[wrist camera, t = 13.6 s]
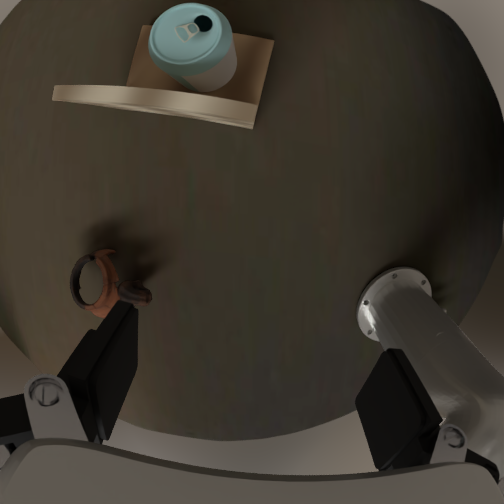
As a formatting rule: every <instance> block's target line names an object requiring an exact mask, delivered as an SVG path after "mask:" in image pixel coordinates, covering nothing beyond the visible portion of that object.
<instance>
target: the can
mask: <svg viewBox="0 0 504 504" xmlns="http://www.w3.org/2000/svg"><path fill="white" fill-rule="evenodd" d="M148 48H149V53H150V56H151V58H152V60H153V62H154V63H155V64H156V65H157V67H159V68H160V69H161V70H163V71H164V72H165V73H167V74H168V75H170V76H171V77H172V78H174V79H175V80H176V81H178V82H179V83H181V84H182V85H183V86H185V87H186V88H188V89H190V90H192V91H196V92H210V91H214V90H217V89H219V88H221V87H222V86H224V85H225V84H227V83H228V82H229V81H230V79H231V78H232V77H233V75H234V73H235V71H236V67H237V57H236V51H235V46H234V40H233V35H232V30H231V26H230V23H229V21H228V20H227V18H226V17H225V16H224V15H223V14H222V13H221V12H220V11H218V10H217V9H215V8H213V7H210V6H207V5H203V4H199V3H184V4H179V5H176V6H174V7H172V8H170V9H168V10H166V11H165V12H164V13H163V14H161V15H160V16H159V17H158V19H157V20H156V21H155V23H154V24H153V26H152V29H151V32H150V36H149V42H148Z"/></svg>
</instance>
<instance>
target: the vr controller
mask: <svg viewBox="0 0 504 504" xmlns="http://www.w3.org/2000/svg"><path fill="white" fill-rule="evenodd" d="M114 253H115V250H112V249H103V250H96V251H95V252H93V253H91V254H88V255H85V256H83V257H82V258H80V259H79V260H78V261H77V262H76V264H75V267H74V268H73V270H72V274H71V277H70V289H71V293H72V296H73V299H74V301H75V302H76V304H77V305H78V306H79V307H81V308H82V309H86V310H91V312H92V313H93V314H94V315H95V316H98V317H102V318H105V317H106V316H107V314H108V313H109V311H110V310H111V309H112V307H113V306H114V304H115V303H116V302H117V301H118V300H121V301H125V302H129V303H133V304H134V307H135V306H136V305H140V306H147V305H149V303H150V302H151V300H152V294H151V292H150V290H148V289H147V288H145V287H143V285H142V283H141V281H140V280H137V281H129V280H126V281H124V282H122V283H121V284H120V285H119V287H118V288H117V287H116V284H115V283H116V282H118V281H119V277H118V275H117V273H116V270H115V267H114V266H113V264H112V262H111V260H110V259H109V257H108V256H107V255H109V254H114ZM94 259H97V260H96V263H97V265H98V266H99V267H100V269H101V271H102V275H103V284H104V286H103V290H102V293H101V295H100V297H99V299H98V300H97V301H96V302H95V303H94V304H86V303H85V302H84V301H83V300H82V298H81V296H80V293H79V289H81V287H80V284H79V278H80V274H81V270H82V268H83V266H84V265H85V264H86V263H87V262H89V261H93V260H94Z"/></svg>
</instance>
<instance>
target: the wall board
mask: <svg viewBox="0 0 504 504" xmlns="http://www.w3.org/2000/svg"><path fill="white" fill-rule="evenodd" d="M152 26H153V25H143V26H142V30H141V33H140V36H139V39H138V43H137V46H136V50H135V53H134V57H133V60H132V64H131V68H130V72H129V76H128V80H127V84H126V87H124V86H101V85H56V86H55V87H54V92H53V97H52V100H57V101H66V102H75V103H83V104H91V105H98V106H105V107H111V108H118V109H124V110H132V111H142V112H151V113H159V114H167V115H174V116H181V117H188V118H194V119H201V120H207V121H212V122H218V123H223V124H228V125H234V126H239V127H243V128H248V129H253V126H254V122H255V117H256V113H257V109H258V105H259V101H260V97H261V92H262V88H263V84H264V80H265V76H266V72H267V68H268V64H269V60H270V56H271V52H272V48H273V44H274V40H269V39H264V38H259V37H254V36H249V35H243V34H237V33H232V35H233V40H234V46H235V51H236V57H237V67H236V71H235V73H234V75H233V77H232V78H231V79H230V81H229V82H228V83H227V84H225V85H224V86H222V87H221V88H219V89H217V90H214V91H210V92H196V91H192V90H190V89H188V88H186V87H185V86H183V85H182V84H181V83H179V82H178V81H176V80H175V79H174V78H172V77H171V76H170V75H168V74H167V73H165V72H164V71H163V70H161V69H160V68H159V67H157V65H156V64H155V63H154V62H153V60H152V58H151V56H150V53H149V48H148V42H149V36H150V32H151V29H152Z"/></svg>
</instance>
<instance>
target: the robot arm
mask: <svg viewBox="0 0 504 504" xmlns="http://www.w3.org/2000/svg"><path fill="white" fill-rule="evenodd" d="M356 315H357V321H358V324H359V326H360V328H361V330H362V332H363V333H364V334H365V335H366V336H367V337H369V338H371V339H373V340H376V341H380V343H381V345H382V346H383V348H384V350H385V351H384V352H383V353H382V354H381V356H380V358H379V359H378V361H377V363H376V365H375V367H374V368H373V370H372V372H371V374H370V375H369V377H368V379H367V380H366V382H365V384H364V385H363V387H362V389H361V390H360V392H359V394H358V395H357V397H356V401H355V404H356V408H357V411H358V414H359V417H360V420H361V423H362V426H363V429H364V432H365V436H366V439H367V442H368V445H369V448H370V452H371V455H372V458H373V461H374V465H375V467H376V468H377V469H379V471H378V472H368V473H357V474H342V475H309V476H308V475H305V476H304V475H272V474H257V473H245V472H235V471H226V470H218V469H211V468H205V467H199V466H193V465H188V464H183V463H178V462H173V461H168V460H162V459H158V458H154V457H150V456H145V455H141V454H138V453H133V452H130V451H126V450H121V449H118V448H114V447H110V446H106V445H102V442H103V440H109V438H110V436H111V433H112V430H113V428H114V425H115V422H116V420H117V417H118V415H119V412H120V410H121V407H122V405H123V402H124V400H125V397H126V395H127V392H128V390H129V388H130V385H131V383H132V380H133V378H134V376H135V373H136V370H137V365H138V309H136V308H134V304H133V303H129V302H125V301H121V300H118V301H117V302H116V303H115V304H114V306H113V307H112V309H111V310H110V311H109V313H108V314H107V316H106V317H105V319H104V320H103V321H102V323H101V324H100V326H99V327H98V329H97V330H93V329H90V330H89V331H88V332H87V333H86V334H85V336H84V337H83V339H82V340H81V341H80V343H79V344H78V346H77V347H76V349H75V350H74V351H73V353H72V354H71V356H70V357H69V359H68V360H67V362H66V363H65V365H64V366H63V368H62V369H61V371H60V372H59V374H58V375H57V376H55V375H50V374H40V375H37V376H34V377H33V378H31V379H30V380H29V381H28V382H27V383H26V385H25V388H24V394H19V395H15V396H10V397H5V398H1V399H0V504H504V377H503V376H502V374H500V373H499V372H498V371H497V370H496V369H495V368H494V367H493V366H492V365H491V363H490V362H489V361H488V360H487V359H486V358H485V357H484V356H483V355H482V353H480V351H479V350H478V349H477V348H476V347H475V345H474V344H473V343H472V342H471V341H470V340H469V338H468V337H467V336H466V335H465V334H464V333H463V332H462V330H461V329H460V328H459V327H458V326H457V325H456V324H455V323H454V321H453V320H452V319H451V318H450V317H449V316H448V315H447V314H446V309H444V308H441V307H440V306H439V305H438V304H437V303H436V302H435V301H434V300H433V299H432V291H431V286H430V283H429V281H428V279H427V278H426V277H425V276H424V275H423V274H422V273H421V272H420V271H418V270H416V269H414V268H411V267H396V268H392V269H389V270H387V271H385V272H383V273H381V274H380V275H378V276H377V277H376V278H375V279H373V280H372V281H371V282H370V283H369V285H368V286H367V287H366V288H365V290H364V291H363V293H362V295H361V297H360V299H359V302H358V305H357V313H356ZM442 417H443V418H446V420H445V421H444V422H443V424H442V425H440V426H439V424H440V423H441V422H442V421H443V419H442Z"/></svg>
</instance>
